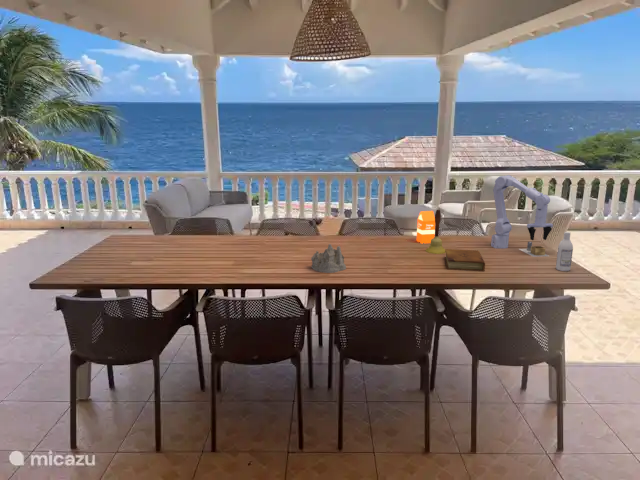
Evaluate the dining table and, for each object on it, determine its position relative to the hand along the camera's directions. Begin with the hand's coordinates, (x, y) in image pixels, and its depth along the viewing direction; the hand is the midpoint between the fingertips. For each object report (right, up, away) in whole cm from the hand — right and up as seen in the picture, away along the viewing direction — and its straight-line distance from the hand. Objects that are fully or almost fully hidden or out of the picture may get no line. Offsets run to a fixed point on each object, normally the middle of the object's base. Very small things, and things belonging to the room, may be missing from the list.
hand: (538, 239), depth 288 cm
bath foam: (+2, -16, -24) cm, 29 cm away
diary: (-47, -14, -15) cm, 51 cm away
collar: (0, -8, +1) cm, 8 cm away
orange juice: (-58, -2, +34) cm, 67 cm away
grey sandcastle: (-120, -15, -23) cm, 124 cm away
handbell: (-56, -7, +11) cm, 58 cm away
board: (-1, -8, +5) cm, 10 cm away
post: (-1, -7, +10) cm, 12 cm away
